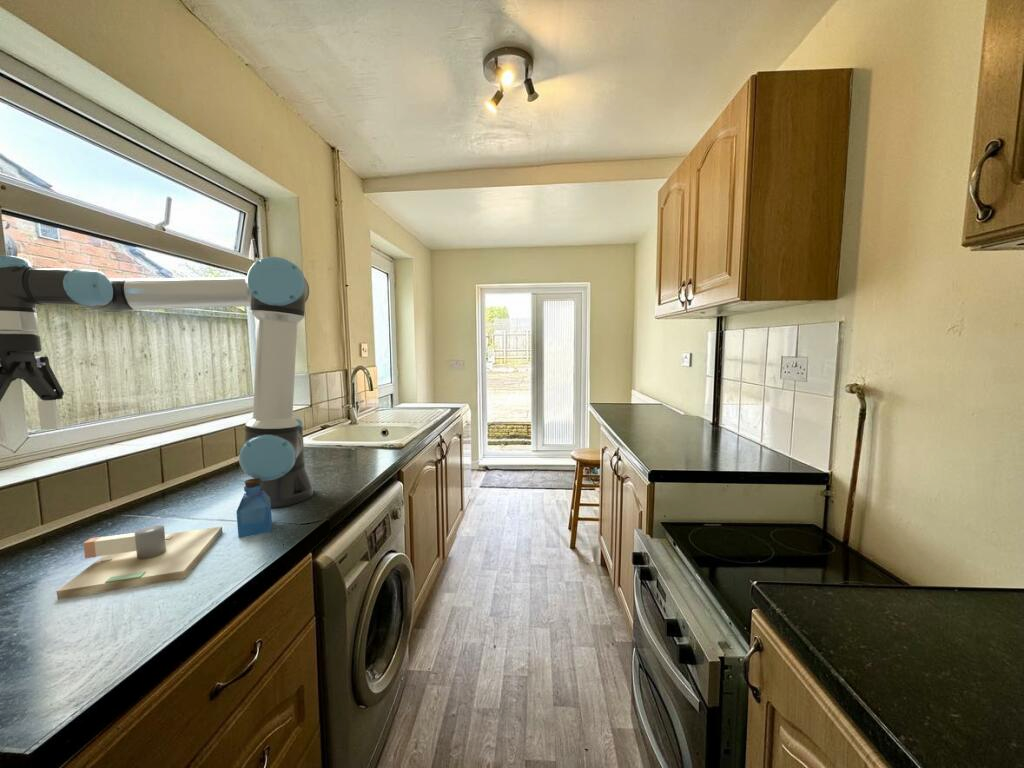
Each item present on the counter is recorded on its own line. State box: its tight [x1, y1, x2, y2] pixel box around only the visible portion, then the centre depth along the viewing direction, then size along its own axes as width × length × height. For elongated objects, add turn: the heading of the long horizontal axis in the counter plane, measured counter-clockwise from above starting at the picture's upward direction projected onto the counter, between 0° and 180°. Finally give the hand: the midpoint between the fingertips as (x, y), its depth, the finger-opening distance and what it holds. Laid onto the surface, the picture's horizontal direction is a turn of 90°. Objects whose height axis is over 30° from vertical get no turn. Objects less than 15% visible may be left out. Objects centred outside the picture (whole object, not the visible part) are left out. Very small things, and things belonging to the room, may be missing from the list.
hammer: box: [82, 524, 166, 560], centre depth 79 cm, size 12×4×5 cm, turn 109°
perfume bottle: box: [236, 478, 273, 539], centre depth 94 cm, size 6×6×12 cm
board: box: [56, 526, 223, 600], centre depth 81 cm, size 18×20×2 cm
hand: (25, 435), depth 84 cm, fingers open, 13 cm apart
